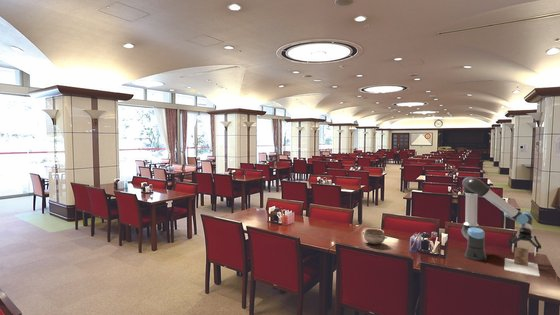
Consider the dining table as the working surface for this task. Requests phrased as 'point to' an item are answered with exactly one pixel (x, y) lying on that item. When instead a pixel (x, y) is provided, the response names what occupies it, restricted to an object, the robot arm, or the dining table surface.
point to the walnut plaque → (521, 256)
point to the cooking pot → (374, 236)
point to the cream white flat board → (521, 268)
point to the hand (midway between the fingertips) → (523, 253)
